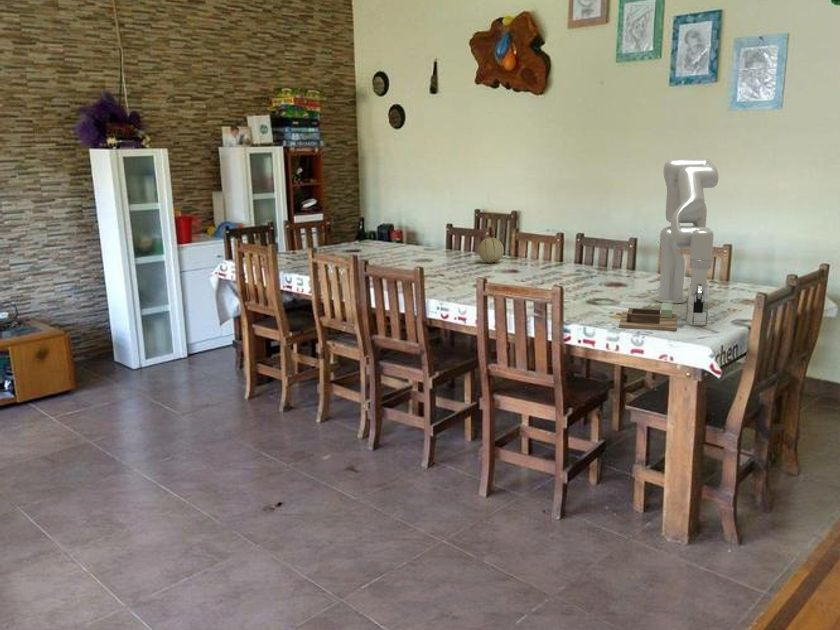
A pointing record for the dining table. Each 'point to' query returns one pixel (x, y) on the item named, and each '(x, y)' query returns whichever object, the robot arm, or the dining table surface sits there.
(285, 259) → the dining table surface
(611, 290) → the dining table surface
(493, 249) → the cantaloupe
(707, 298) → the syrup box
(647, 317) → the socket board
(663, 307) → the bar
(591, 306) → the dining table surface
